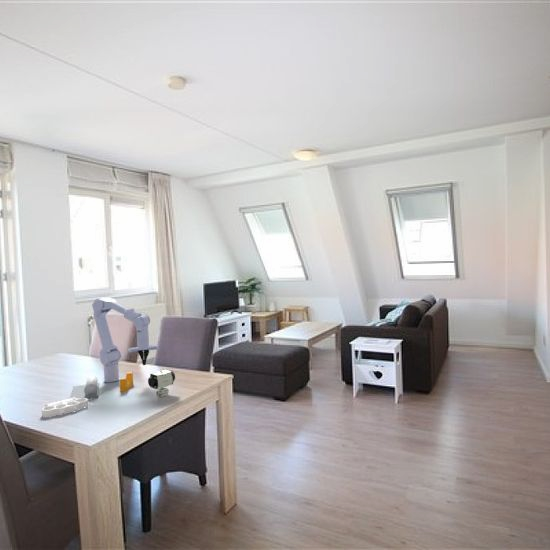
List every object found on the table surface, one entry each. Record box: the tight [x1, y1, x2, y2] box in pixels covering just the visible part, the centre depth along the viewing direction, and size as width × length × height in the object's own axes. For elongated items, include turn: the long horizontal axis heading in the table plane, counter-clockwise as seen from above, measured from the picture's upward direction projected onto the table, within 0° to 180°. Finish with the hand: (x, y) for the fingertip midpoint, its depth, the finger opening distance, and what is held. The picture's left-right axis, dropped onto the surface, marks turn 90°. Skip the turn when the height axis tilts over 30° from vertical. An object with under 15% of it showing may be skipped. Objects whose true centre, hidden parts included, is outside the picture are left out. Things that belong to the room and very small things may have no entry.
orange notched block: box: [119, 371, 134, 393], centre depth 201 cm, size 12×4×6 cm, turn 2°
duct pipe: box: [69, 375, 100, 400], centre depth 196 cm, size 22×12×6 cm, turn 22°
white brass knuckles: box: [41, 397, 89, 419], centre depth 174 cm, size 3×18×15 cm
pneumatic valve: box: [147, 369, 176, 398], centre depth 187 cm, size 6×12×12 cm, turn 138°
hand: (144, 364), depth 209 cm, fingers closed
